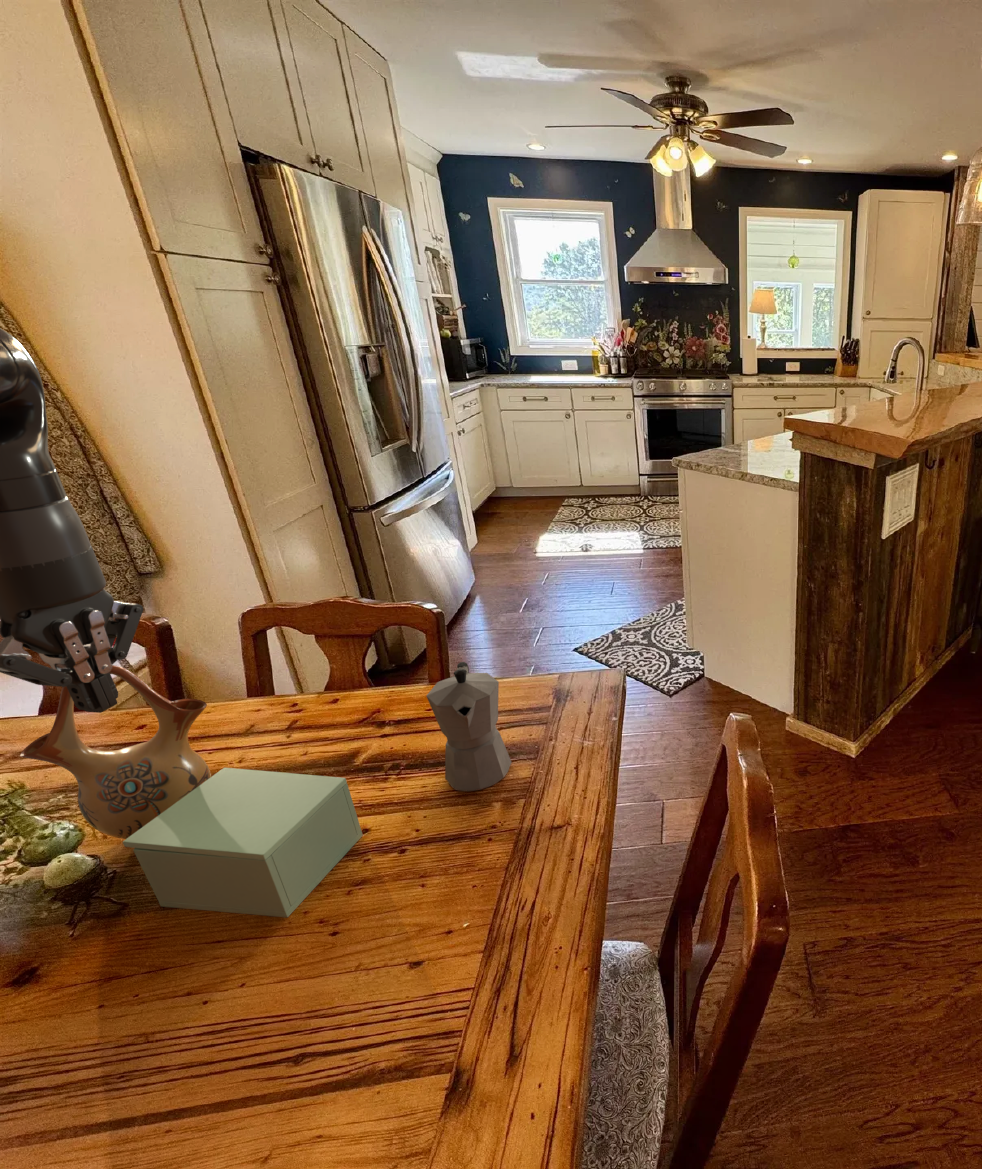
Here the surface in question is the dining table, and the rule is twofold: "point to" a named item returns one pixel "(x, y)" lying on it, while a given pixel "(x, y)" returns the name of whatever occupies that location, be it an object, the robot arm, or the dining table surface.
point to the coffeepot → (470, 729)
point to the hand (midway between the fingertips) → (101, 707)
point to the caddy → (257, 867)
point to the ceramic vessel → (127, 763)
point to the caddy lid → (238, 814)
